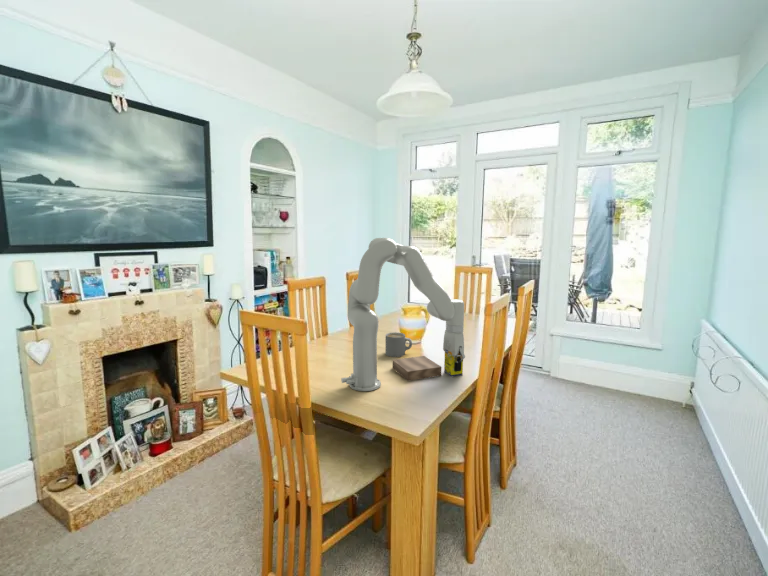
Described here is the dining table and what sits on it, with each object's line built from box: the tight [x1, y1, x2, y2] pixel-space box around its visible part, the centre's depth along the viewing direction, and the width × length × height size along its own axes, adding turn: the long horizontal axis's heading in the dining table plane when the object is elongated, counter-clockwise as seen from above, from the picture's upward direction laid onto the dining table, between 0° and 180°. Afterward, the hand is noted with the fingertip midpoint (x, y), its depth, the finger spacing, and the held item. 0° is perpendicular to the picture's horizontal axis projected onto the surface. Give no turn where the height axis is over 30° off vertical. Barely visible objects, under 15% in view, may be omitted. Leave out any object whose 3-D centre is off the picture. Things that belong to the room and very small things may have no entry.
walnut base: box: [392, 355, 442, 382], centre depth 168 cm, size 16×16×4 cm
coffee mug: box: [385, 331, 413, 358], centre depth 193 cm, size 13×10×10 cm
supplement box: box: [443, 349, 464, 377], centre depth 165 cm, size 6×6×11 cm
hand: (453, 368), depth 166 cm, fingers closed on supplement box, 6 cm apart
